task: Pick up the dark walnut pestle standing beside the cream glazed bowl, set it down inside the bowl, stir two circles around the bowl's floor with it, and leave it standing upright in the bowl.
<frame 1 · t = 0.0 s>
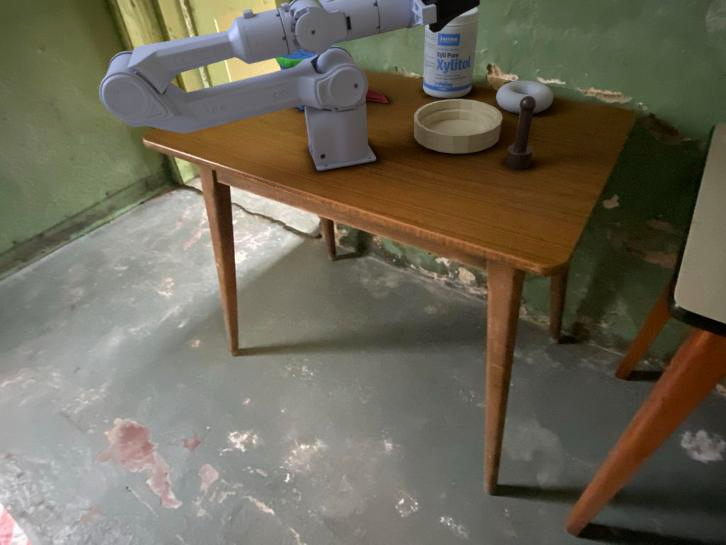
supplement tub: (447, 92, 97), on the table
cayenne pepper: (361, 99, 97), on the table
donut: (522, 107, 90), on the table
bowl: (456, 136, 82), on the table
snack cup: (310, 105, 96), on the table
pestle: (517, 164, 74), on the table
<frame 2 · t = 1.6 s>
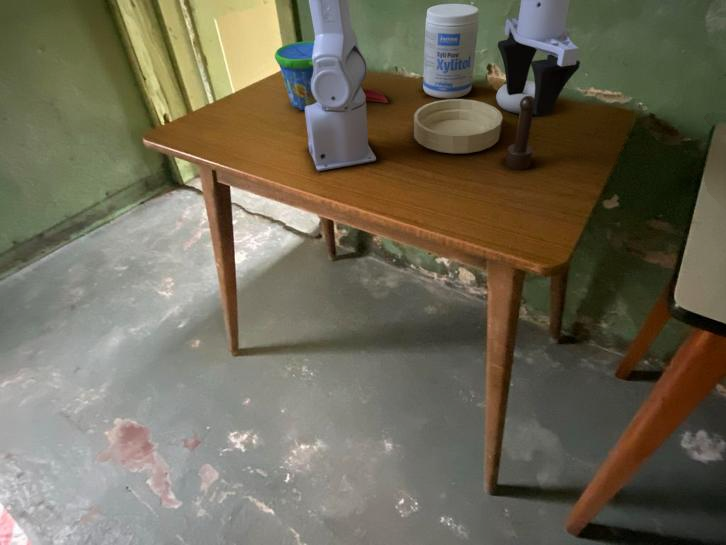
hand: (527, 103, 68), 9 cm above the table, tool pointing down, fingers open, 7 cm apart
nothing on the table moved.
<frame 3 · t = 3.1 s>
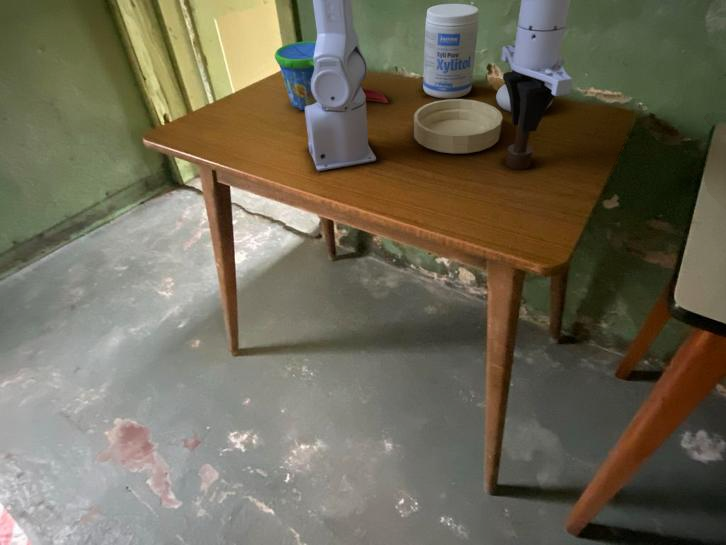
hand: (523, 127, 70), 6 cm above the table, tool pointing down, fingers closed on pestle, 2 cm apart
pestle: (517, 164, 74), on the table, touching gripper
everything else where it was.
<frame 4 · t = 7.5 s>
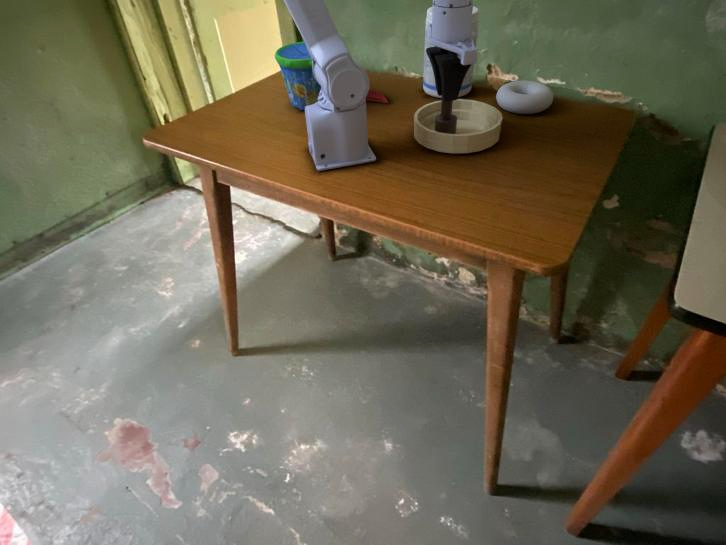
hand: (447, 97, 78), 7 cm above the table, tool pointing down, fingers closed on pestle, 2 cm apart
pestle: (445, 131, 82), point 1 cm above the table, touching gripper
everything else where it was.
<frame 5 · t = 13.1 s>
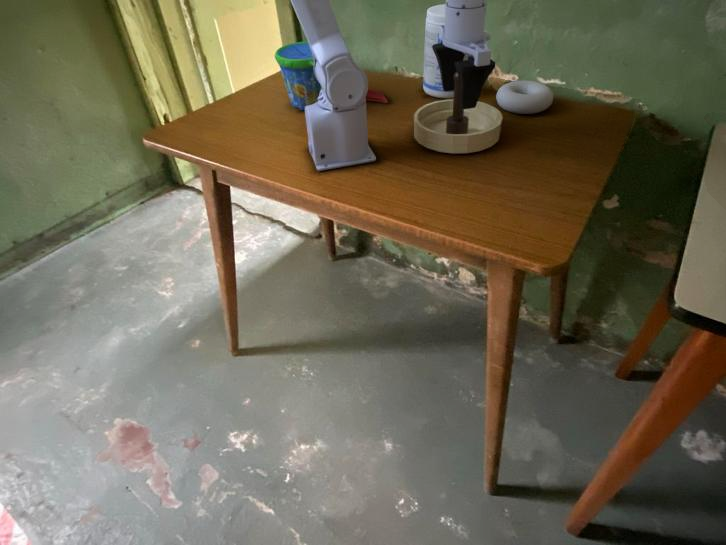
hand: (458, 98, 78), 6 cm above the table, tool pointing down, fingers open, 7 cm apart
pestle: (456, 133, 82), resting on bowl
everything else where it was.
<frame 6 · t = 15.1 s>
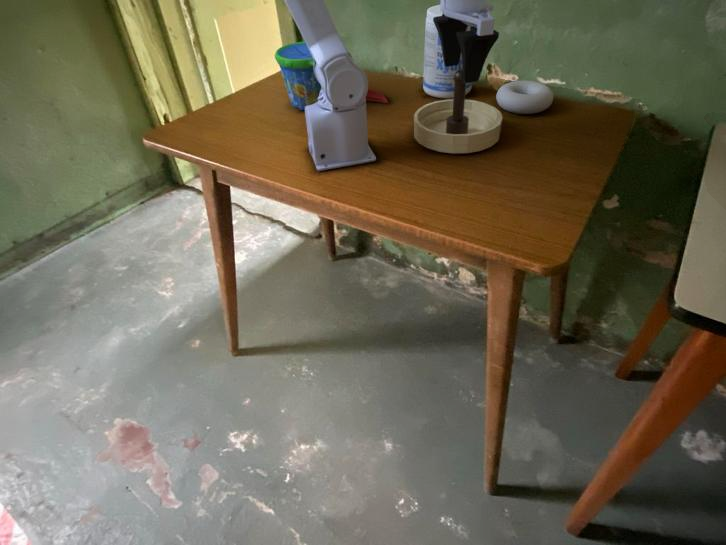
hand: (460, 73, 76), 10 cm above the table, tool pointing down, fingers open, 7 cm apart
nothing on the table moved.
at the end: pestle inside the target area in the bowl (0.1 cm from its centre), point 0.5 cm above the bowl's base; pestle tilted 0°; the gripper is holding nothing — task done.
